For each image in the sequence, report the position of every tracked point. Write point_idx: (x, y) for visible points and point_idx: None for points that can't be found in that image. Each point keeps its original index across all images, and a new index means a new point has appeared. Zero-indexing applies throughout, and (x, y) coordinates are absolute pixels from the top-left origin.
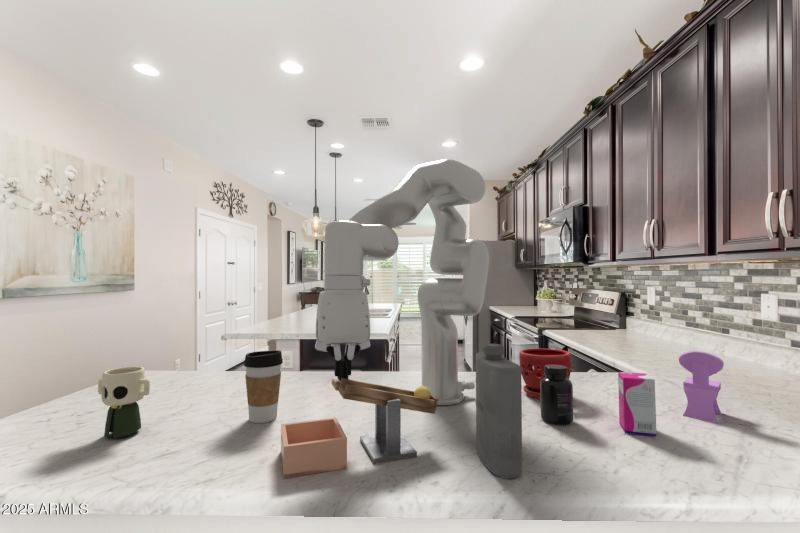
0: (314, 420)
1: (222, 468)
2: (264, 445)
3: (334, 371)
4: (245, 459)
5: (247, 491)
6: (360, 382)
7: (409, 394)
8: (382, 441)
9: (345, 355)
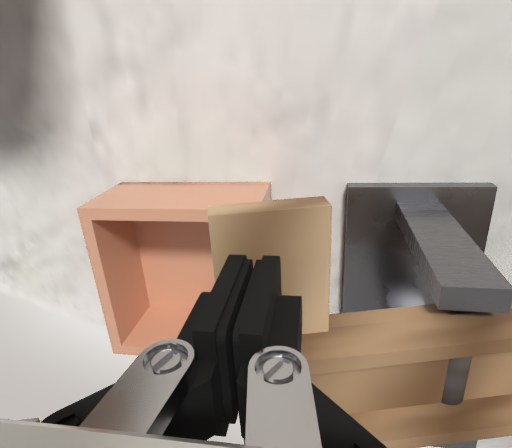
0: (180, 212)
1: (13, 224)
2: (70, 125)
3: (198, 297)
4: (47, 197)
5: (90, 324)
6: (341, 370)
7: None
8: (403, 246)
9: (244, 426)
